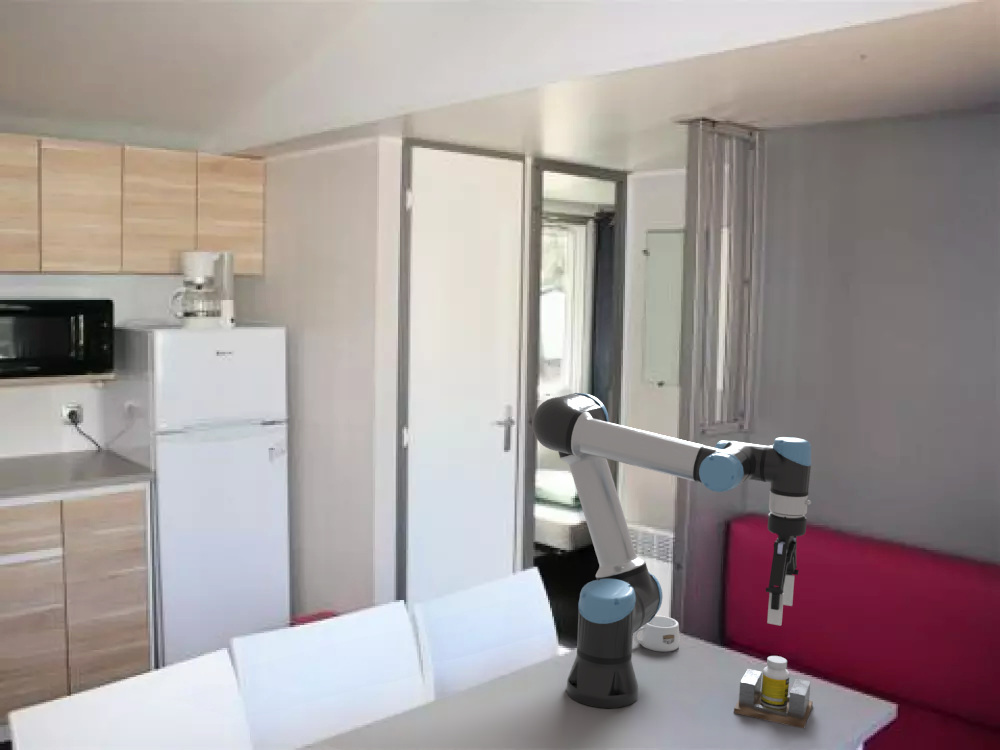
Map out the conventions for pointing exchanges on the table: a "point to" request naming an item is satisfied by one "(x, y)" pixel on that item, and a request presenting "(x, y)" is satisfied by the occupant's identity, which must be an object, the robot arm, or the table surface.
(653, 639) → the mug
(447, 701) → the table surface
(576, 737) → the table surface
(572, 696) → the robot arm
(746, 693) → the grey rectangular frame
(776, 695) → the supplement bottle
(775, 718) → the mount board
